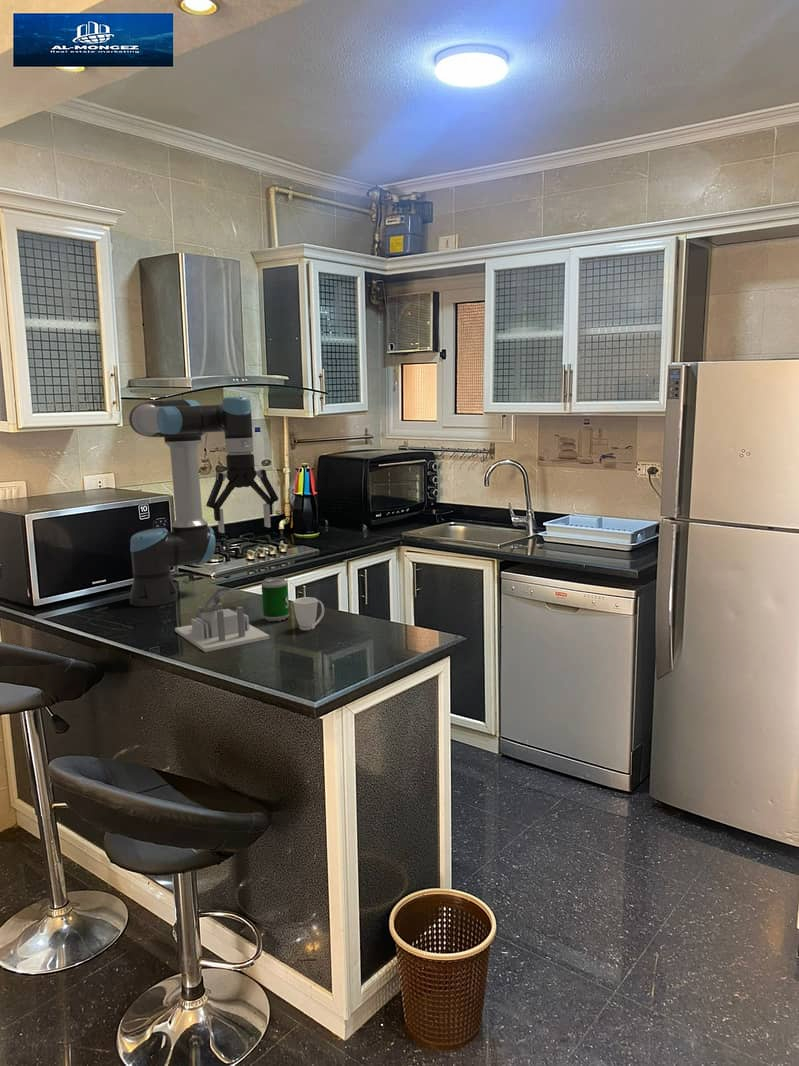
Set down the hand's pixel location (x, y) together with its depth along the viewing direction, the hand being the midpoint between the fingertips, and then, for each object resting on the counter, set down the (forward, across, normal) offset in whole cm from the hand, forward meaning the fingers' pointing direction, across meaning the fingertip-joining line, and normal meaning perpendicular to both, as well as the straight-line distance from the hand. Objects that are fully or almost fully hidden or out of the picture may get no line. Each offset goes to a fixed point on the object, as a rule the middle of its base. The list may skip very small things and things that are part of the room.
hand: (244, 529), depth 220 cm
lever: (+18, -10, -2) cm, 21 cm away
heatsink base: (+28, -10, -3) cm, 30 cm away
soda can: (+28, +9, +2) cm, 30 cm away
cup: (+28, +13, -12) cm, 33 cm away
